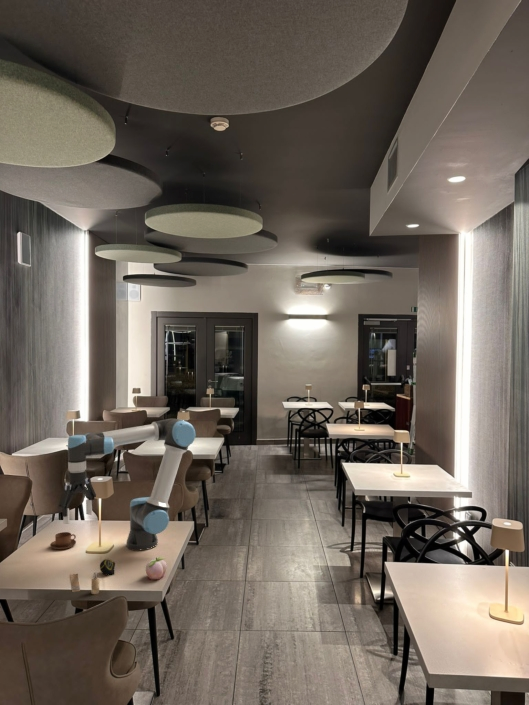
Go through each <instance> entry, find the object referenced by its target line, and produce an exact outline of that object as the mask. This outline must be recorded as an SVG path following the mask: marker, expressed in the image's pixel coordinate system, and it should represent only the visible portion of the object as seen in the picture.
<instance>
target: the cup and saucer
mask: <svg viewBox="0 0 529 705" xmlns="http://www.w3.org/2000/svg"><path fill="white" fill-rule="evenodd" d="M76 536H77V535H76V534H74V533H73V534H72V533H71V532H70V531H69V532H68V531H64V532H63V531H62V532H59V533H56V534H55V536H54V540H53V541H52V542H51V543H50V545H49V546H50V547H51V548H52V549H54V550H66V549H70V548H72V547H74V546H75V545H76V543H77V540H75V539H76V538H77V537H76ZM72 537H73V538H72Z"/></svg>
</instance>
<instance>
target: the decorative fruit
mask: <svg viewBox="0 0 529 705" xmlns="http://www.w3.org/2000/svg"><path fill="white" fill-rule="evenodd" d="M167 569H168V566H167V562H166V561H165V558H164V557H155V558H153V559H151V560H150V561H148V563H147V564H146V566H145V572H146V573H145V574H146V575H147V577H148V578H149V579H150V580H152V579H157V580H160V579H161V578H163V577H164V576H165V575H166V572H167Z"/></svg>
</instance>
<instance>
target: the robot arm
mask: <svg viewBox="0 0 529 705" xmlns="http://www.w3.org/2000/svg"><path fill="white" fill-rule="evenodd" d="M196 435H197V434H196V430H195V427H194V426H193V425H192V424H191V423H190V422H188V421H187V420H182V419H178V418H167V419H162V420H157V421H152V422H151V424H145V425H140V426H139V425H138V426H133V427H132V426H131V427H126V428H119V429H115V430H109V431H102V432H96V433H94V432H88V433H85V434H73V435H71V436H69V437H68V439H67V458H68V459H67V460H68V462H67V466H68V473H67V474H68V481H69V484H64V485H63V490H62V494H61V498H60V500H59V504H58V506H57V507H58V509H61V510H62V512H61V513H62V514H61V515H62V519H63V524H64V525H65V524H66V525H69V524H70V508H69V506H70V504H71V502H72V500H73V498H74V496H75V495H76V494H78V493H82V494H83V495H84V496H85V497H86V500H85V514H86V515H89V516H92V515H93V504H94V503H93V501H94V500H95V499H96V496H97V494H96V492H95V489H94V487H93V484H92V480H91V478H88V477H87V457H92V456H100V455H101V456H102V455H108V454H112V453H113V452H114V450H115V449H114V448H115V447H117V446H124V445H129V444H134V443H140V442H146V441H152V440H153V441H155V442H158V441H164V442H163V446H164V447H165V450H164V453H163V457H162V460H161V463H160V466H159V469H158V472H157V476H156V478H155V482H154V485H153V487H152V490H151V494H150V496H148V497H147V496H146V497H145V496H144V497H137V498H134V499H131V501H130V504H129V515H130V516H129V518H130V519H129V524H130V525H129V526H130V527H129V528H130V529H129V531H128V532H129V533H128V536H127V539H126V548H127V549H129V550H132V549H133V551H141V550H140V549H146V550H148V549H147V548H151V547H153V546H155V545H157V546H158V544H159V542H158V541H159V539H158V536H157V535H158V534H160V533H162V532H164V531H165V530H166V529H167V527H168V526H169V523H170V517H169V509H170V505H169V503H168V502H169V499H170V495H171V492H172V490H173V486H174V482H175V481H176V480H175V479H176V476H177V473H178V470H179V466H180V463H181V460H182V457H183V454H184V453H186V452H187V451H188V448H189V446H191V445H192V444H194V441H195V439H196ZM87 488H88V490H87ZM157 543H158V544H157ZM155 547H156V546H155ZM153 548H154V547H153ZM151 549H152V548H151Z"/></svg>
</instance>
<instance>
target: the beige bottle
mask: <svg viewBox="0 0 529 705" xmlns="http://www.w3.org/2000/svg"><path fill="white" fill-rule="evenodd" d="M97 575H98V574H97V572H94V573H93V577H92V578H91V580H90V581H91V589H90V590H91V594H92V595H96V594H97V595H98V594H100V578H99V577H98V576H97Z"/></svg>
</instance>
